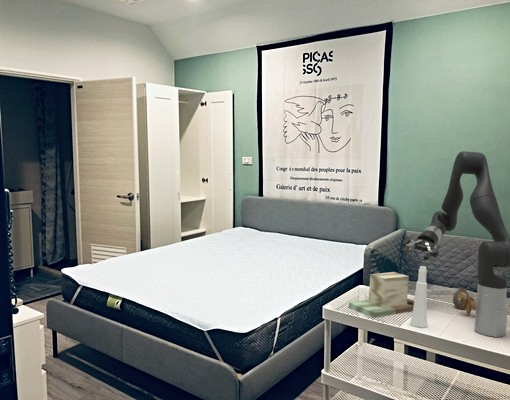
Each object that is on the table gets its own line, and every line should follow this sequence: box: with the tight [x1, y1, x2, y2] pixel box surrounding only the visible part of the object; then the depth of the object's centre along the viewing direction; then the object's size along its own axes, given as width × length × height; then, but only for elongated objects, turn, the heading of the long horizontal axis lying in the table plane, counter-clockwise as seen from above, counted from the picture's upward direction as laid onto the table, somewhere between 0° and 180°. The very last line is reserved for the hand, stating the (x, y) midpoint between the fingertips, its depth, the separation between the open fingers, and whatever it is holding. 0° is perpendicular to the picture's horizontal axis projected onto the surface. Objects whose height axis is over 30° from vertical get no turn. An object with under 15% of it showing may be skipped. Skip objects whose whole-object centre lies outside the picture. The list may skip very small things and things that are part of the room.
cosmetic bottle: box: [409, 265, 428, 329], centre depth 164 cm, size 6×6×22 cm
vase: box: [452, 287, 470, 311], centre depth 190 cm, size 7×7×9 cm
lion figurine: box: [457, 293, 477, 317], centre depth 177 cm, size 15×5×9 cm, turn 44°
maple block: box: [368, 271, 410, 308], centre depth 184 cm, size 8×14×12 cm, turn 120°
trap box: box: [348, 298, 414, 318], centre depth 184 cm, size 14×30×2 cm, turn 120°
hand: (414, 255), depth 180 cm, fingers open, 8 cm apart
